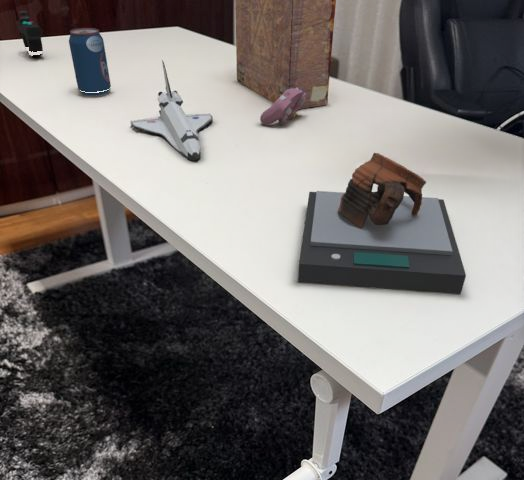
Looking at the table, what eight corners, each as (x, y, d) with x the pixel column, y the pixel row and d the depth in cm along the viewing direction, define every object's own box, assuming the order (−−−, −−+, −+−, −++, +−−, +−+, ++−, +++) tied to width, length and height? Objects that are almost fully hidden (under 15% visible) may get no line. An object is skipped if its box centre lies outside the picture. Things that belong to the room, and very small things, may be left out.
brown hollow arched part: (327, 203, 71) (360, 143, 68) (388, 235, 73) (422, 178, 70) (342, 223, 60) (382, 153, 57) (413, 260, 62) (455, 194, 59)
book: (236, 81, 126) (232, -84, 107) (271, 76, 129) (274, -84, 110) (288, 111, 109) (295, -79, 90) (327, 105, 112) (342, -79, 93)
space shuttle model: (149, 168, 86) (140, 101, 80) (128, 120, 104) (119, 62, 98) (242, 157, 90) (240, 93, 84) (206, 112, 108) (202, 57, 102)
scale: (439, 216, 74) (444, 194, 72) (460, 294, 60) (467, 270, 58) (308, 208, 76) (309, 187, 74) (297, 282, 61) (299, 258, 59)
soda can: (115, 95, 117) (105, 32, 109) (83, 99, 114) (70, 35, 107) (107, 87, 121) (97, 26, 114) (76, 91, 119) (63, 28, 111)
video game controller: (275, 136, 102) (291, 104, 97) (256, 121, 102) (271, 88, 97) (298, 122, 109) (315, 91, 103) (281, 108, 109) (296, 76, 104)
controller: (39, 51, 148) (29, 9, 142) (50, 61, 140) (40, 16, 134) (23, 53, 146) (12, 10, 140) (33, 63, 138) (22, 18, 132)
